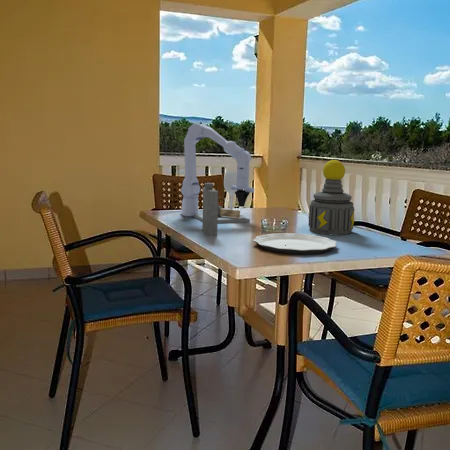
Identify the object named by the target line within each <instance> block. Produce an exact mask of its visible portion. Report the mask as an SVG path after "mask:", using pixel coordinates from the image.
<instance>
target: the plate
mask: <svg viewBox="0 0 450 450" xmlns="http://www.w3.org/2000/svg"><path fill="white" fill-rule="evenodd" d="M252 241H253V242H254V243H256V244H258V245H259V246H261V247H262V248H263V249H265V250H268V251H271V252H277V253H282V254H291V255H313V254H314V255H315V254H321V253H325V252H328V251H329V250H332V249H335V248H337V244H338V242H337V241H336V240H333V239H330V238H328V237H326V236H318V235H313V234H305V233H293V232H292V233H291V232H284V233H283V232H281V233H267V234H262V235H257V236H255V238H253V239H252ZM285 245H286V246H285Z"/></svg>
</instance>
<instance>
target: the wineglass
mask: <svg viewBox="0 0 450 450" xmlns="http://www.w3.org/2000/svg"><path fill="white" fill-rule="evenodd" d="M236 180H237V171H234V170H233V171H228V170H227V171H225V173H224V177H223V187H224V191H226V192H227V193H228V194H229V195H230V202H229V203H230V206H229V209H231V210H234V208H233V196H234V194H235V191H237V190H231V185H235V186H236Z"/></svg>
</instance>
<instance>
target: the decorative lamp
mask: <svg viewBox="0 0 450 450" xmlns="http://www.w3.org/2000/svg"><path fill="white" fill-rule="evenodd" d="M322 174H323V177H324V178H325V180H324V183H323V188H322V189H321V191H317V192H316V193H313V199H312V200H311V201H310V204H309V209H308V216H307V218H308V227H309V231H310V232H311V233H313V234H314V233H315V234H319V235H327V236H328V235H329V236H345V235H346V236H347V235H349V234H351V233H352V231H353V229H354V223H355V206H354V202H352V201H351V200H352V195H350V194H349V193H346V192H345V191H344V189H343V184H342V181H343V180H342V179H343V178H344V176H345V174H346V168H345V165H344V164H343V163H342V162H341V161H340V160H337V159H331V160H329V161H327V162H326V163H325V164H324V165H323V167H322Z"/></svg>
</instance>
